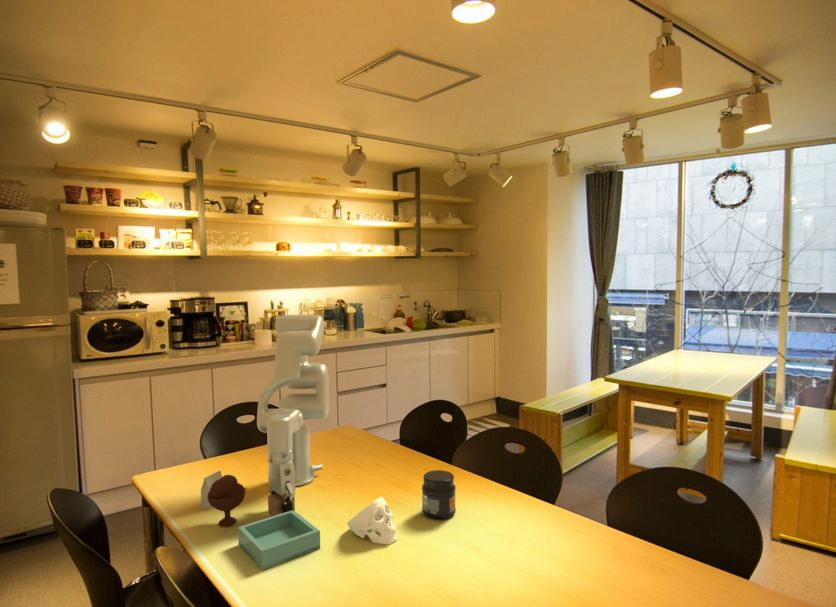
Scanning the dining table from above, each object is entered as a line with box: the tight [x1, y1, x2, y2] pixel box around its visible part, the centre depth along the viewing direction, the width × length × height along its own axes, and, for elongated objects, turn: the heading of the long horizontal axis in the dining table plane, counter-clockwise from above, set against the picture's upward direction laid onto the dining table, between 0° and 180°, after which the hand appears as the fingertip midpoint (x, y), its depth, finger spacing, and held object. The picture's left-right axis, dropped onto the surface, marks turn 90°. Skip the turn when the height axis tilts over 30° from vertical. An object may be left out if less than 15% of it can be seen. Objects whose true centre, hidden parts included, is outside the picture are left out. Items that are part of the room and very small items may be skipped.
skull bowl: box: [346, 495, 398, 545], centre depth 150 cm, size 10×14×12 cm
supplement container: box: [421, 469, 457, 521], centre depth 164 cm, size 10×10×12 cm
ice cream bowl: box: [207, 474, 247, 528], centre depth 158 cm, size 11×11×15 cm
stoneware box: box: [237, 510, 321, 571], centre depth 144 cm, size 16×16×5 cm
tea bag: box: [200, 470, 223, 510], centre depth 171 cm, size 4×7×10 cm, turn 158°
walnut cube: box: [267, 491, 296, 517], centre depth 164 cm, size 6×6×6 cm
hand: (281, 510), depth 164 cm, fingers open, 7 cm apart
